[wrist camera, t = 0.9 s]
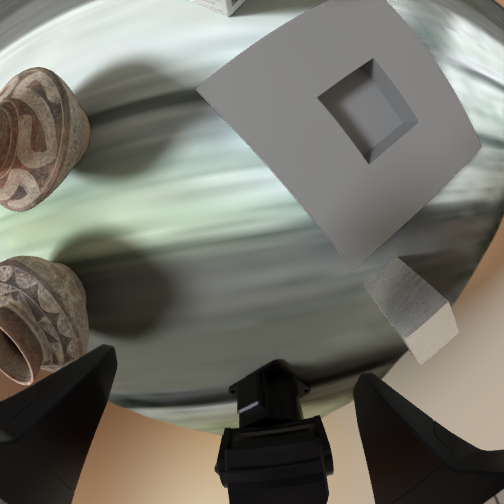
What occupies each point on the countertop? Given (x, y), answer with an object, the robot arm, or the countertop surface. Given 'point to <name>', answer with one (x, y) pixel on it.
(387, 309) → the beige rectangular block
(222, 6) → the light bulb box
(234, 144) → the countertop surface
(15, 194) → the pottery
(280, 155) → the square nut plate
